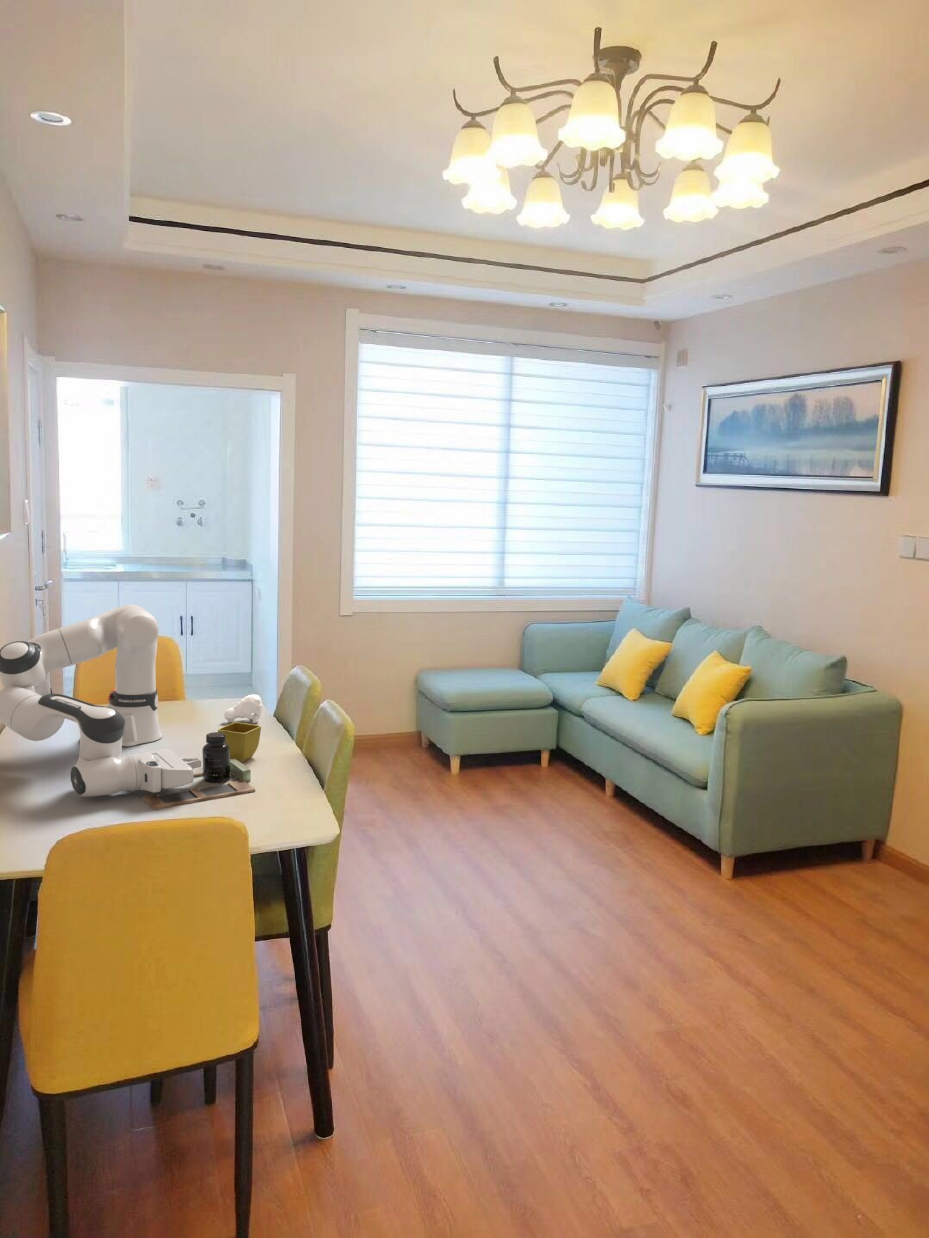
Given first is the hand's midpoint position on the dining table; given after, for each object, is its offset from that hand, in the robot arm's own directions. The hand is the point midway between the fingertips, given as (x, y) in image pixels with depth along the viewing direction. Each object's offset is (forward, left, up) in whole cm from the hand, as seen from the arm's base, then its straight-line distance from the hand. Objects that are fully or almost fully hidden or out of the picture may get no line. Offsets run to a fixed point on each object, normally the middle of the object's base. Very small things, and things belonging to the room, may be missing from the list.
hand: (199, 762), depth 232 cm
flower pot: (+7, +20, -6) cm, 22 cm away
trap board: (0, -5, -5) cm, 7 cm away
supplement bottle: (+4, +3, -6) cm, 7 cm away
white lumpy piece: (+2, +59, -6) cm, 60 cm away
